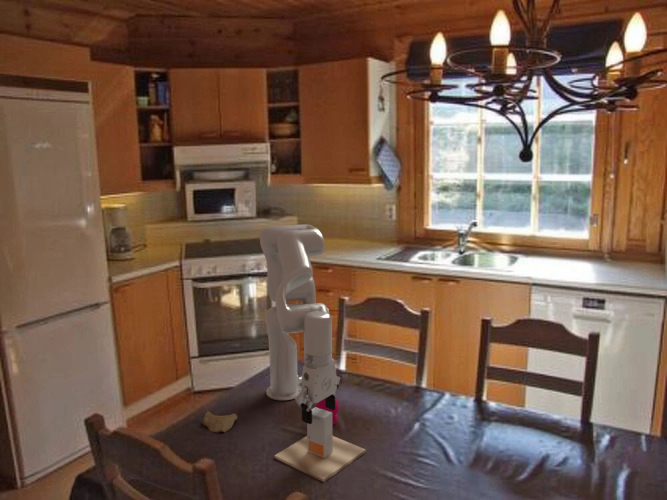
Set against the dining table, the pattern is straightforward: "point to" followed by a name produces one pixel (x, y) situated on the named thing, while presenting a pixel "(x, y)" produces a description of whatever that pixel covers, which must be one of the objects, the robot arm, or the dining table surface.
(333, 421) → the pepper mill
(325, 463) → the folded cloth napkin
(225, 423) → the pottery shard
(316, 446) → the skincare box
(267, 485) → the dining table surface
